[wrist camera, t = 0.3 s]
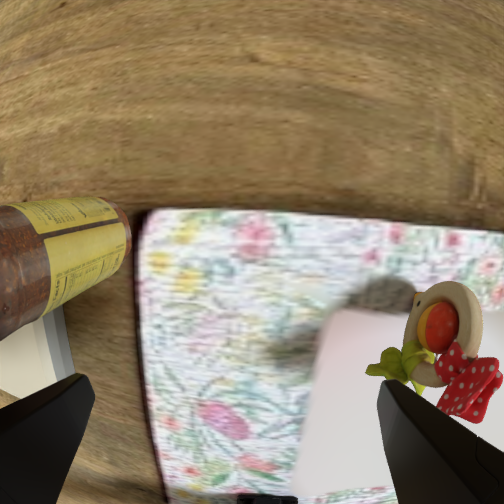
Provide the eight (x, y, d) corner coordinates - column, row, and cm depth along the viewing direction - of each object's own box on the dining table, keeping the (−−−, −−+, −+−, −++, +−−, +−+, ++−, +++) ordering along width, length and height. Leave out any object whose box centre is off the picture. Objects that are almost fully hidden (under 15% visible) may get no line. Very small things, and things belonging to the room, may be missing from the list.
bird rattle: (375, 284, 23) (353, 397, 21) (460, 249, 13) (429, 438, 10) (437, 297, 23) (418, 402, 21) (530, 273, 12) (508, 430, 10)
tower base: (86, 413, 26) (72, 429, 23) (2, 380, 26) (-12, 391, 24) (59, 283, 23) (38, 292, 20) (-23, 271, 24) (-42, 277, 21)
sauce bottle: (62, 218, 22) (-158, 260, 3) (117, 181, 22) (-151, 178, 2) (92, 290, 23) (-111, 409, 4) (151, 261, 22) (-99, 404, 3)
